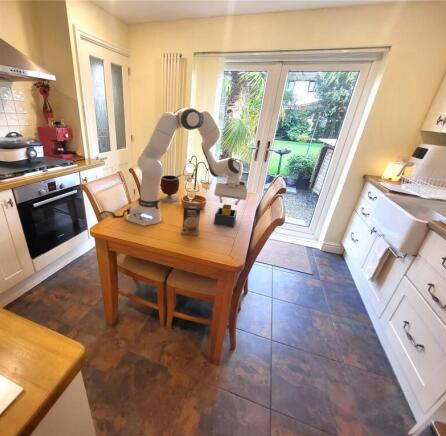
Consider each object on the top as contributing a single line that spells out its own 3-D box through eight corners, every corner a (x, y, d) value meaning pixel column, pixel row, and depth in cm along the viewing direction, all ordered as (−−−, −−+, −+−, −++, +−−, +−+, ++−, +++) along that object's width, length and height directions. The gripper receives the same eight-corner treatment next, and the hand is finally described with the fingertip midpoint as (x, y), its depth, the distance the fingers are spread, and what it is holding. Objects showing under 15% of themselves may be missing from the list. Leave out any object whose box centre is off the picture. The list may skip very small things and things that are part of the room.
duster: (220, 221, 145) (222, 206, 141) (222, 218, 149) (224, 204, 145) (228, 222, 144) (230, 207, 140) (229, 219, 148) (231, 205, 144)
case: (213, 224, 144) (215, 213, 141) (217, 216, 154) (218, 207, 151) (232, 227, 140) (234, 217, 137) (235, 219, 150) (237, 210, 147)
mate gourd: (157, 200, 176) (157, 174, 167) (164, 195, 188) (164, 170, 179) (177, 203, 172) (178, 177, 164) (182, 197, 184) (183, 172, 176)
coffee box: (181, 234, 130) (183, 207, 123) (182, 229, 136) (184, 203, 129) (198, 235, 129) (200, 209, 123) (198, 230, 135) (200, 204, 128)
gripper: (216, 179, 150) (211, 198, 146) (249, 183, 144) (245, 203, 140) (217, 184, 156) (212, 203, 152) (248, 188, 150) (244, 208, 146)
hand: (228, 203), depth 146 cm, fingers open, 8 cm apart
